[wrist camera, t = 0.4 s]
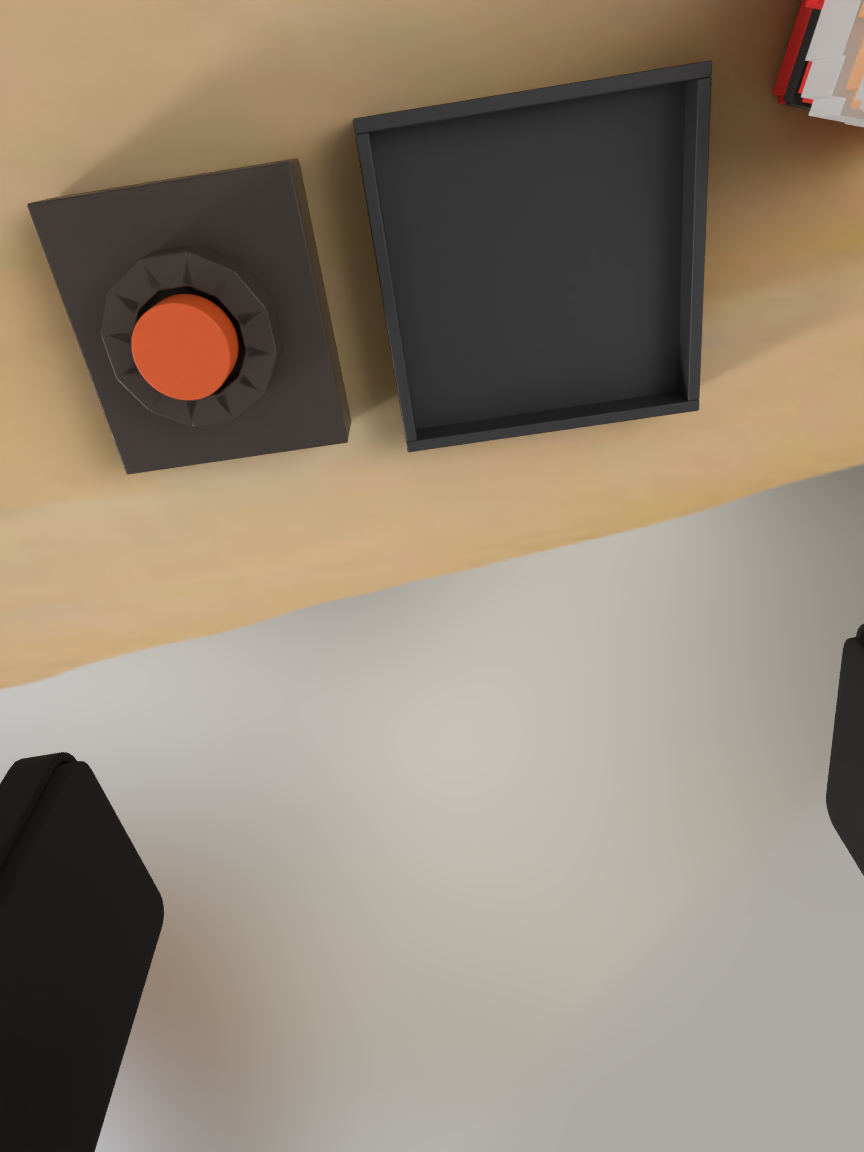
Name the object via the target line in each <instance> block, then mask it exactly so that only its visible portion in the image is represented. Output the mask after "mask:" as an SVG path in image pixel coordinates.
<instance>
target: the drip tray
mask: <svg viewBox="0 0 864 1152" xmlns="http://www.w3.org/2000/svg"><path fill="white" fill-rule="evenodd" d="M711 75H712V61H711V60H710V61H704V62H698V63H692V64H686V65H679V66H673V67H667V68H661V69H655V70H649V71H643V72H637V73H630V74H624V75H618V76H612V77H606V78H600V79H594V80H588V81H582V82H575V83H569V84H563V85H557V86H551V87H545V88H539V89H533V90H526V91H520V92H514V93H508V94H502V95H496V96H490V97H484V98H477V99H471V100H465V101H459V102H453V103H447V104H441V105H435V106H428V107H422V108H416V109H410V110H404V111H398V112H392V113H386V114H379V115H373V116H367V117H361V118H355V119H353V124H354V130H355V134H357V135H356V142H357V148H358V154H359V160H360V166H361V172H362V178H363V184H364V190H365V196H366V202H367V208H368V215H369V221H370V227H371V233H372V239H373V245H374V251H375V257H376V263H377V269H378V275H379V281H380V287H381V293H382V299H383V305H384V311H385V317H386V323H387V329H388V335H389V341H390V347H391V353H392V360H393V366H394V372H395V378H396V384H397V390H398V396H399V402H400V408H401V414H402V420H403V426H404V432H405V438H406V444H407V450H408V452H413V451H420V450H427V449H434V448H441V447H448V446H455V445H462V444H469V443H476V442H483V441H490V440H497V439H504V438H510V437H517V436H524V435H531V434H538V433H545V432H552V431H559V430H566V429H573V428H580V427H587V426H594V425H601V424H608V423H615V422H622V421H628V420H635V419H642V418H649V417H656V416H663V415H670V414H677V413H684V412H691V411H698V410H699V393H700V367H701V341H702V314H703V288H704V262H705V236H706V210H707V183H708V157H709V131H710V105H711Z"/></svg>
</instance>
